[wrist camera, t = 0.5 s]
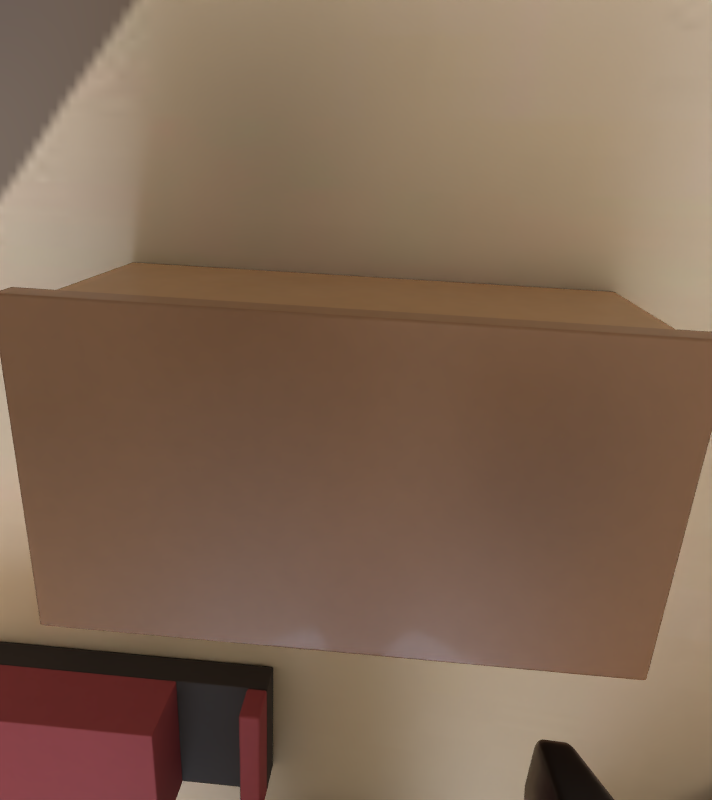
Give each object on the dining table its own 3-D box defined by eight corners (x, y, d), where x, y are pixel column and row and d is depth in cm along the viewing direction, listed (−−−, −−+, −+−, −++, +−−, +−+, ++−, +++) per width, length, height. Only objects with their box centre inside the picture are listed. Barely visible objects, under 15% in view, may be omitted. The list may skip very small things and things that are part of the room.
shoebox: (578, 534, 23) (646, 681, 16) (140, 498, 24) (39, 626, 17) (627, 282, 20) (736, 341, 13) (121, 252, 21) (-11, 293, 14)
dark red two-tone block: (272, 764, 28) (253, 852, 24) (6, 737, 29) (-51, 819, 25) (273, 666, 26) (252, 746, 22) (-13, 640, 27) (-77, 713, 23)
